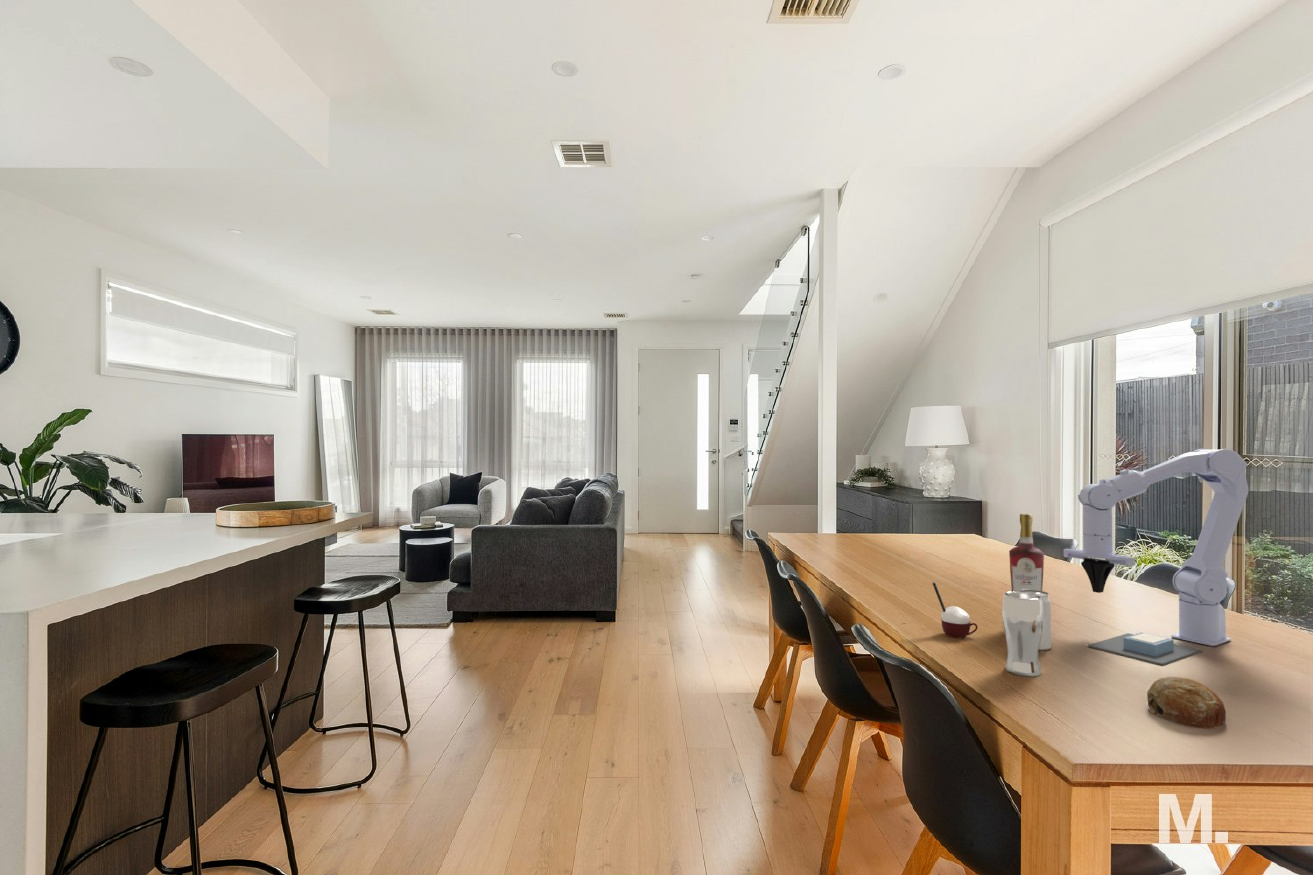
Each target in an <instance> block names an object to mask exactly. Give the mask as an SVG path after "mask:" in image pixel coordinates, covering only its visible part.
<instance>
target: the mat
mask: <svg viewBox="0 0 1313 875" xmlns="http://www.w3.org/2000/svg"><path fill="white" fill-rule="evenodd" d="M1131 635H1134V634H1133V633H1129V632H1127V633H1124V634H1121V635H1118V636H1113V637H1111V638H1106V639H1104V640H1100V641H1096V642H1093V643H1089V644H1087V647H1088V648H1092V649H1096V650H1100V651H1102V652H1106V653H1111V654H1115V655H1118V656H1119V655H1120V656H1122V657H1125V658H1130V659H1131V658H1132V659H1134V660H1139V661H1142V662H1146V663H1151V664H1154V665H1158V666H1165V665H1168V664H1171V663H1174V662H1177V661H1179V660H1182V659H1185V658H1188V657H1190V656H1194V655H1196V654H1199V653H1202V652H1203V650H1202V649H1201V648H1196V647H1192V646H1191V647H1190V646H1186V645H1182V644H1179V643H1178V644H1177V643H1174V651H1171V652H1168V653H1165V654H1162V655H1159V656H1156V657H1155V656H1151V655H1147V654H1143V653H1139V652H1135V651H1131V650H1127V649H1124V637H1127V636H1131Z"/></svg>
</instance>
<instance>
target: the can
mask: <svg viewBox="0 0 1313 875" xmlns="http://www.w3.org/2000/svg"><path fill="white" fill-rule="evenodd" d="M1019 592H1026V593H1032V594H1036V595H1039V596H1041V597H1042V608H1043V629H1042V636H1041V641H1040V646H1039V651H1048V650H1050V649H1051V648H1052V601H1051V599H1050V596H1049V592H1046V591H1043V590H1042V591H1039V590H1020V591H1019Z"/></svg>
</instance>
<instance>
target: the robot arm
mask: <svg viewBox="0 0 1313 875" xmlns="http://www.w3.org/2000/svg"><path fill="white" fill-rule="evenodd" d="M1247 466H1248V463H1247V462H1246V461H1245V460H1244V458H1242V456H1241V455H1240V454H1239V453H1238V452H1237V451H1236V450H1232V449H1229V448H1222V449H1207V448H1199V449H1196V450H1193V451H1189V452H1184V453H1182V454H1180V455H1177V456H1175V457H1173V458H1171V459H1169V460H1165V461H1164V462H1161V463H1158V464H1157V465H1155V466H1152V467H1149V468H1147V469H1145V470H1143V471H1136V470H1133V469H1130V470H1128V469H1123V470H1120V471H1119V474H1117V475H1115V476H1112V477H1109V478H1107V479H1106V478H1101V479H1099V483H1098V484H1096V483H1089V484H1086V485H1084V486H1082V489H1081V490H1080V491H1079V494H1078V495H1077V497H1078V498H1077V499H1078V500H1079V503H1081V505H1082V538H1083V539H1082V541H1083V542H1082V544H1083V545H1082V546H1083V547H1082V549H1074V548H1073V549H1072V548H1063V558H1073V559H1079V560H1083V561H1081V563H1080V564H1081V567H1082V568H1083V569H1084V571H1085V573H1086V575H1087V578H1088V580H1089V582H1090V586H1091V591H1092V592H1093V593H1096V594H1098V593H1099V594H1100V593H1104V590H1105V586H1106V582H1107V580H1108V578H1109V576H1110V574H1111V572H1112V570H1114V568H1115V565H1122V566H1125V567H1135V563H1136V562H1135V557H1133V556H1127V555H1121V554H1117V553H1113V508H1114V507H1115V506H1116V504H1117V503H1119V502H1123V501H1125V500H1128V499H1130V498H1133V497H1135V496H1139V495H1141V494H1143V493H1145V492H1147V491H1148V488H1149V486H1150V485H1152V484H1155V483H1158V482H1161V481H1163V480H1167V479H1170V478H1172V477H1173V478H1174V477H1176V476H1179V475H1182V474H1185V473H1193V474H1194V475H1196V476H1197V477H1198V478H1200V479H1201V480H1203V481H1205V482H1206V483H1207V484H1208V486H1210V488H1211V490H1212V491H1213V492H1214V494H1213V497H1212V499H1211V500H1212V501H1211V503H1210V505H1209V508H1208V511H1207V514H1206V517H1205V519H1204V522H1203V525H1202V527H1201V531H1200V534H1199V536H1198V539H1197V542H1196V545H1195V547H1194V550H1193V553H1192V556H1190V557H1189V558H1187V559H1186V560H1184V561H1183V562H1182V565H1181V567H1180V569H1178V570H1177V571H1176V572H1175V573H1174V574H1173V576H1172V585H1173V587H1174V589H1175V590H1176V591H1178V630H1179V631H1178V632H1176V633H1173V634H1171V636H1170V637H1171V638H1172V639H1178V640H1183V641H1187V642H1191V643H1192V642H1193V643H1197V644H1202V645H1205V646H1210V647H1216V646H1219V645H1221V644H1222V645H1223V644H1224V643H1227V642H1230V641H1232V638H1231V637H1227V636H1226V635H1227V633H1226V632H1227V631H1226V630H1227V628H1226V627H1227V626H1226V618H1227V617H1226V611H1225V609H1224V607H1223V606H1222V604H1221V602H1222V601H1223V600H1224V599H1225V598H1226V596H1227V593H1228V589H1227V578H1228V573H1227V571H1226V569H1225V567H1224V566H1223V564H1224V561H1225V558H1226V555H1227V553H1228V550H1229V547H1230V544H1231V542H1232V539H1233V536H1234V533H1235V531H1236V528H1237V526H1238V522H1239V519H1240V517H1241V514H1242V512H1243V508H1244V505H1245V503H1246V500H1247V498H1248V494H1249V489H1250V488H1249V486H1248V480H1247V475H1246V470H1247V469H1246V468H1247Z"/></svg>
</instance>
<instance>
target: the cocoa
mask: <svg viewBox="0 0 1313 875" xmlns="http://www.w3.org/2000/svg"><path fill="white" fill-rule="evenodd" d="M932 586H933V588H934V591H935V594H936V596H937V599H938V601H939V604H940V607H941V609H942V612H941V613H940V617H941V620H940V621H941V627H942V631H943V632H944V634H945V635H947V636H948V637H951V638H954V637H955V638H954V639H963V638H965V637H967V636H970V635H972V634H974V633H975V632H977V630H978V625H977V623H975V622H971V619H970V618H971V617H970V615H969V614H968V612H966V611H965V610H964V609H962V608H961V607H959V606H951V605H950V606H948V607H945V605H944V601H943V599H942V596H941V594H940V592H939V589H938V587H937V584H936V582H935V581H934V580H933V581H932ZM971 626H975V628H974V629H973V630H972V631H970V630H971Z"/></svg>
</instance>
